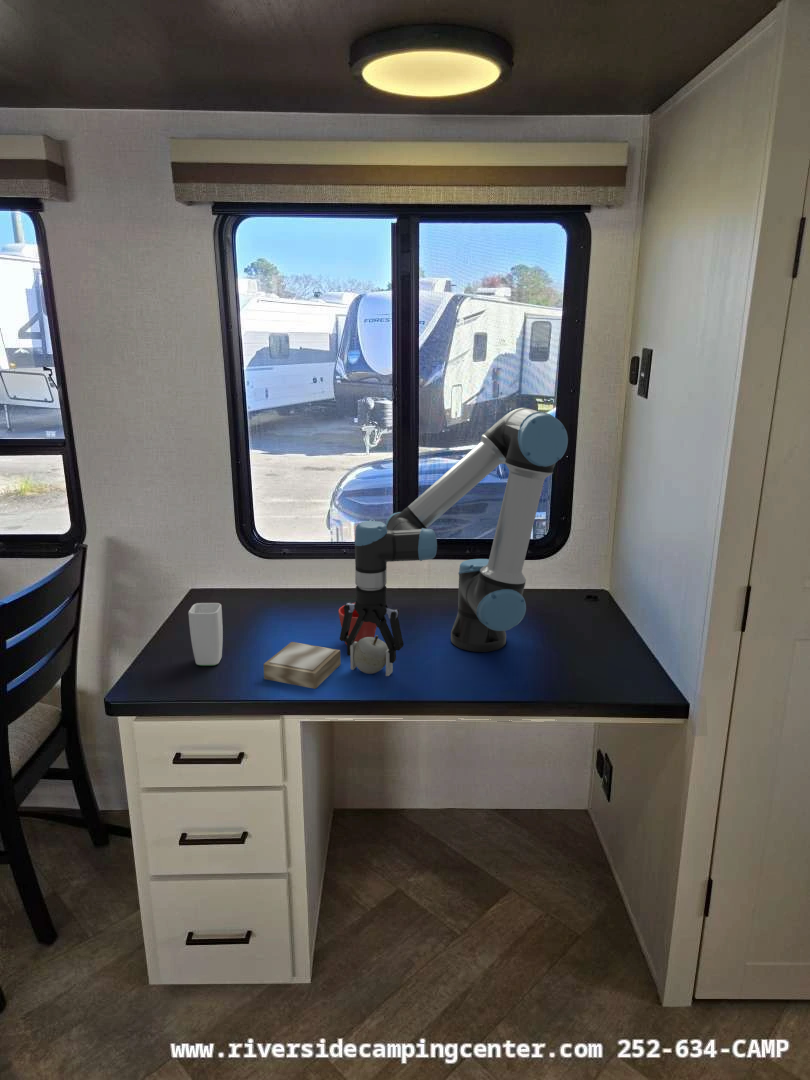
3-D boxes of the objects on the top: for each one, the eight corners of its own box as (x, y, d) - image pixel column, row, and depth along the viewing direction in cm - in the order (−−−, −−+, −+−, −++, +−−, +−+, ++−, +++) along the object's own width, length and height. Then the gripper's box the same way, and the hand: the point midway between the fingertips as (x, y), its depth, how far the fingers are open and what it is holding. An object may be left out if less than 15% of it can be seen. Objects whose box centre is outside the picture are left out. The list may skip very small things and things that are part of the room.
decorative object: (349, 667, 186) (348, 631, 183) (381, 661, 189) (381, 625, 186) (361, 682, 178) (361, 645, 175) (394, 676, 181) (394, 639, 179)
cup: (198, 656, 192) (193, 602, 187) (226, 655, 192) (222, 602, 188) (191, 668, 185) (186, 613, 180) (220, 668, 185) (216, 613, 181)
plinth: (340, 664, 188) (340, 649, 186) (315, 688, 175) (315, 672, 174) (292, 655, 192) (291, 640, 191) (264, 678, 180) (263, 662, 178)
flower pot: (374, 652, 194) (373, 618, 192) (334, 648, 197) (333, 615, 194) (383, 636, 204) (383, 604, 202) (345, 633, 207) (344, 601, 204)
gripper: (418, 586, 177) (417, 671, 183) (337, 575, 184) (338, 657, 190) (407, 596, 170) (406, 684, 177) (323, 584, 177) (325, 669, 184)
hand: (371, 670), depth 183 cm, fingers closed on decorative object, 9 cm apart
